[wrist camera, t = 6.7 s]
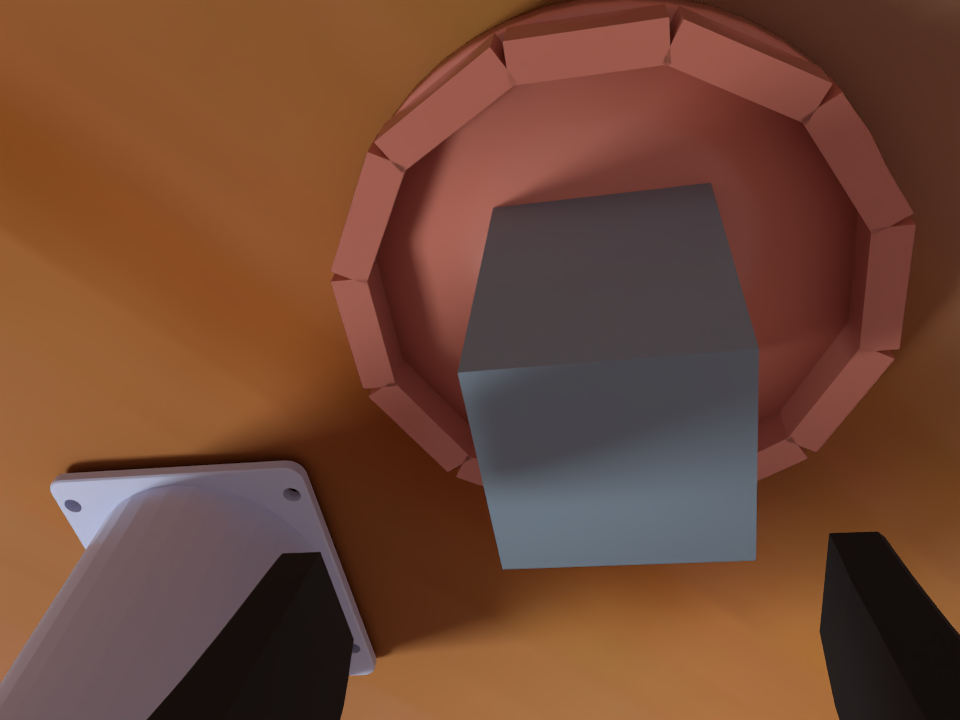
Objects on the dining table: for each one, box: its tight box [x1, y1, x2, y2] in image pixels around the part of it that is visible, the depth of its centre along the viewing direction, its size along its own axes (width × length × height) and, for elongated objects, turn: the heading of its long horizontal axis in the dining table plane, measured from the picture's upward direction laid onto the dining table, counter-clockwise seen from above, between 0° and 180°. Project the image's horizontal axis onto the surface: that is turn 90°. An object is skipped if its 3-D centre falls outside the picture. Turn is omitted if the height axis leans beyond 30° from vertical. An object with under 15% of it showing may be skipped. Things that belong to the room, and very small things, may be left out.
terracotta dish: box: [331, 0, 916, 487], centre depth 19 cm, size 12×12×2 cm
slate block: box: [458, 183, 759, 569], centre depth 16 cm, size 4×4×6 cm
